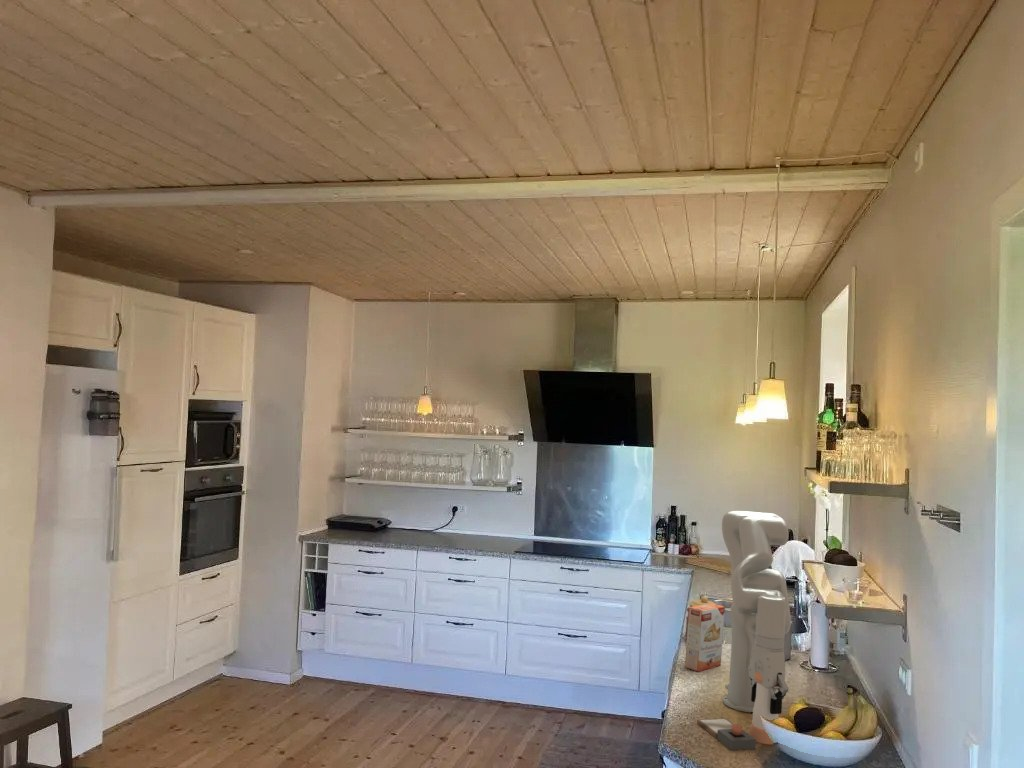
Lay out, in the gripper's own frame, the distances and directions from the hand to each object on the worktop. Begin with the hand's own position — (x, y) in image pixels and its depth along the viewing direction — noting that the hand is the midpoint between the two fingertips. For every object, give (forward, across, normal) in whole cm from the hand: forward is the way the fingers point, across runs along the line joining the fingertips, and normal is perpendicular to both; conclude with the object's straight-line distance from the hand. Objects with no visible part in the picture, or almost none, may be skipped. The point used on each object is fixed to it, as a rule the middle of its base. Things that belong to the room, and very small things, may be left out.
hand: (766, 707), depth 208 cm
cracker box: (+9, -58, +15) cm, 60 cm away
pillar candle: (+9, -66, +51) cm, 84 cm away
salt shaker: (+9, 0, 0) cm, 9 cm away
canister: (+9, -86, +31) cm, 91 cm away
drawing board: (+9, -7, -9) cm, 14 cm away
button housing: (+9, +2, -10) cm, 13 cm away
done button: (+6, +2, -10) cm, 12 cm away
